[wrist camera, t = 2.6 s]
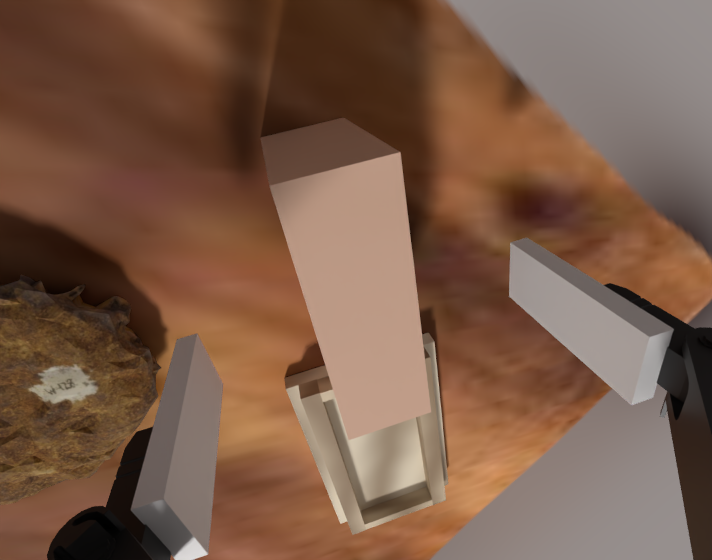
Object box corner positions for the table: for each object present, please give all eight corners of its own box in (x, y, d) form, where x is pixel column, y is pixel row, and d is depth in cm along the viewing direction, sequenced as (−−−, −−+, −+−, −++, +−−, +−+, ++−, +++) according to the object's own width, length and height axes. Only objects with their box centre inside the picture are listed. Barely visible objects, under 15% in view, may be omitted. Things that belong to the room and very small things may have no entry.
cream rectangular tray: (338, 512, 34) (343, 538, 32) (284, 377, 25) (287, 403, 23) (443, 473, 35) (454, 497, 33) (428, 332, 26) (442, 353, 24)
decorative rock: (86, 481, 26) (195, 313, 23) (67, 544, 23) (192, 359, 19) (-157, 449, 20) (-60, 216, 17) (-232, 529, 17) (-131, 257, 13)
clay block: (260, 137, 18) (269, 185, 11) (343, 117, 18) (400, 152, 12) (320, 333, 24) (348, 440, 17) (380, 315, 25) (431, 412, 18)
